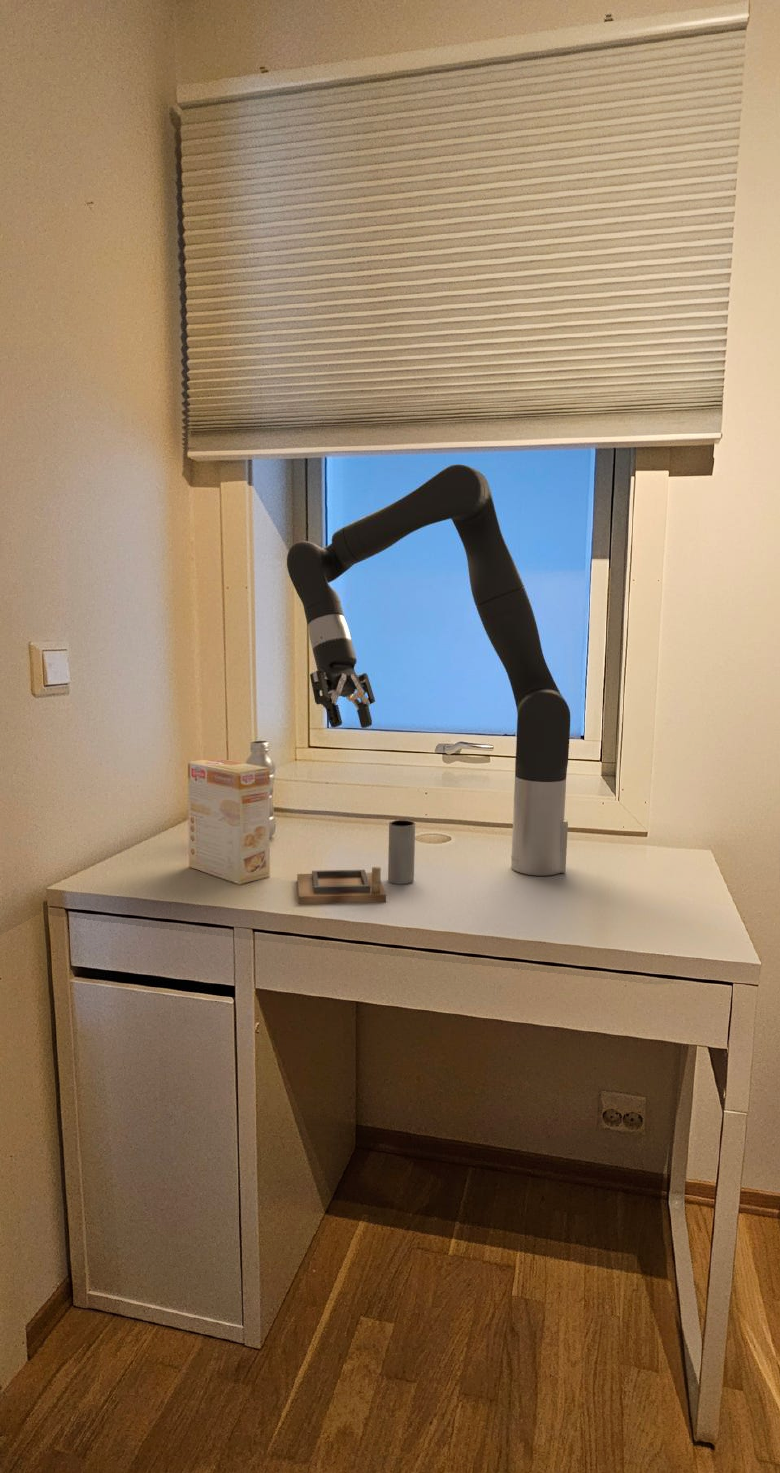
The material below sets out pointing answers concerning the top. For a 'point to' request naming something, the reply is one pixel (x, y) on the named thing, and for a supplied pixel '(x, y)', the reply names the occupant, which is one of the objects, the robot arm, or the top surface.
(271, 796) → the plastic bottle
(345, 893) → the socket board
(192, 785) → the coffeecake box
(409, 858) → the grey hollow cylinder
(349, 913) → the top surface
